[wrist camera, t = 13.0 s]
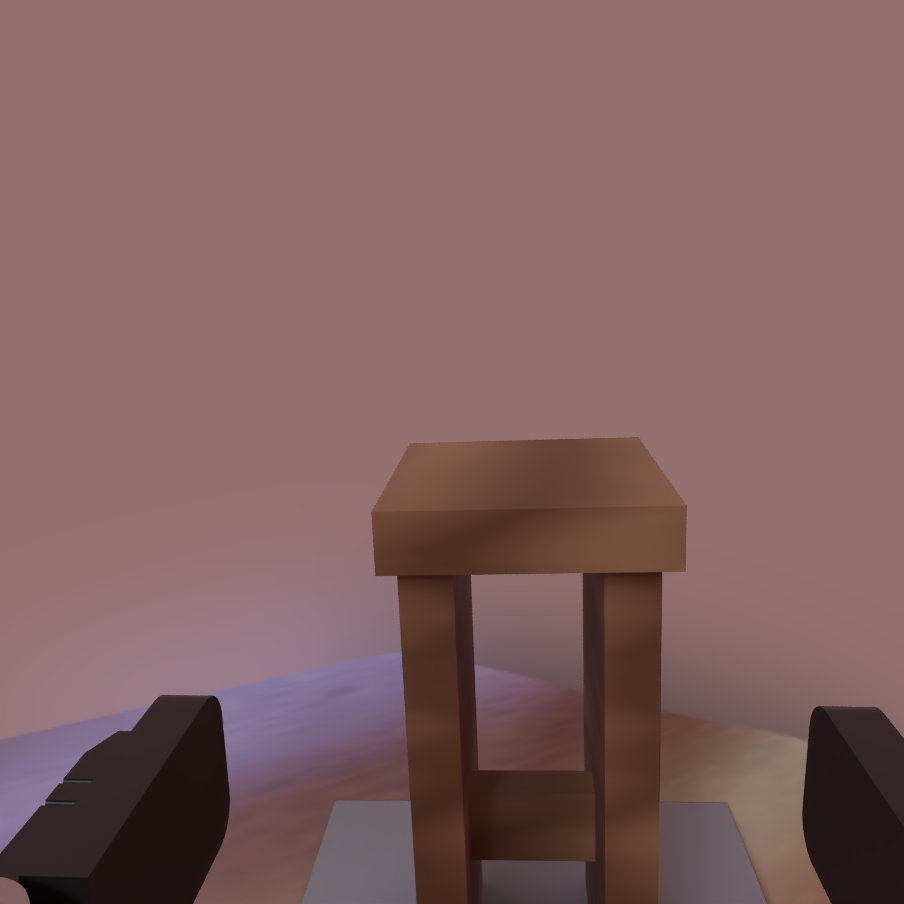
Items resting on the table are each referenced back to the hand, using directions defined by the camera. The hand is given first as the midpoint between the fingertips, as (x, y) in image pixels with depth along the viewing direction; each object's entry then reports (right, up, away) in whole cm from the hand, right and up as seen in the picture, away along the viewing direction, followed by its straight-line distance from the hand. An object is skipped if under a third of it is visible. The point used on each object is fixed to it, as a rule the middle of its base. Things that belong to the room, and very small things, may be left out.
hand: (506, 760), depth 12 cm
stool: (+2, -10, +12) cm, 16 cm away
